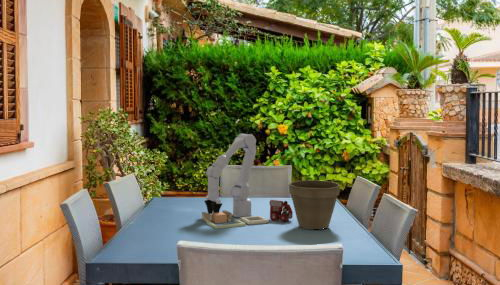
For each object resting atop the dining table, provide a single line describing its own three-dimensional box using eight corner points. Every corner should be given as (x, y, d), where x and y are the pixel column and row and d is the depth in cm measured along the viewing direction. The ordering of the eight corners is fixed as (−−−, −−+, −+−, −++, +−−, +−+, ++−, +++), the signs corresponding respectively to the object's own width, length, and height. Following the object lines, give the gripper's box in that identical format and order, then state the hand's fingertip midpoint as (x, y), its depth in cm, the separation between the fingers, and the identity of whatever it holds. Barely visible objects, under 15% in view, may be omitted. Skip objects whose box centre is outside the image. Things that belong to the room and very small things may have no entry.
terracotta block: (221, 219, 288) (221, 212, 287) (226, 222, 282) (226, 214, 282) (211, 220, 285) (211, 212, 284) (215, 223, 279) (215, 215, 279)
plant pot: (305, 235, 258) (307, 188, 257) (278, 224, 280) (279, 181, 279) (348, 230, 270) (350, 186, 268) (319, 220, 292) (321, 179, 290)
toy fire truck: (289, 222, 284) (290, 202, 283) (267, 220, 289) (267, 200, 288) (293, 220, 291) (294, 200, 290) (271, 217, 295) (271, 198, 294)
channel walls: (224, 217, 293) (225, 210, 292) (231, 220, 285) (231, 213, 285) (202, 219, 287) (202, 212, 286) (208, 222, 280) (208, 215, 279)
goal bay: (235, 221, 284) (235, 219, 284) (245, 225, 275) (245, 223, 275) (206, 223, 277) (206, 221, 277) (215, 228, 267) (215, 226, 267)
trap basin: (259, 219, 291) (259, 215, 290) (268, 223, 282) (268, 219, 282) (240, 220, 286) (240, 217, 285) (249, 224, 277) (249, 221, 277)
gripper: (201, 187, 294) (200, 213, 295) (211, 191, 281) (211, 218, 282) (213, 187, 297) (212, 212, 298) (224, 191, 284) (224, 217, 285)
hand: (213, 215), depth 290 cm, fingers open, 7 cm apart
